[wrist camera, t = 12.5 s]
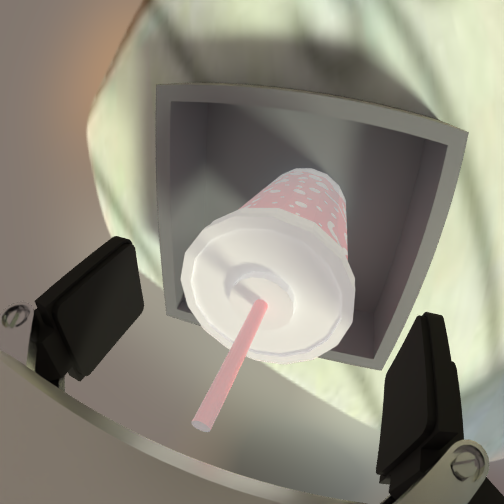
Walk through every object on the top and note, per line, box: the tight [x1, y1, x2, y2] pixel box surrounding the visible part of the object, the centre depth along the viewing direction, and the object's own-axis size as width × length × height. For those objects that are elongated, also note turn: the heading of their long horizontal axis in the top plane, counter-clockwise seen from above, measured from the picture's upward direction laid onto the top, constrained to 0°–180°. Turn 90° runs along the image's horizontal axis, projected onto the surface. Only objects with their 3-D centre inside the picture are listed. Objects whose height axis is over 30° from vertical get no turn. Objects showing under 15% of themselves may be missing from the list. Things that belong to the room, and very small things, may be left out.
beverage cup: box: [181, 168, 355, 432], centre depth 12 cm, size 6×6×14 cm
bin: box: [156, 82, 469, 370], centre depth 17 cm, size 14×14×5 cm
